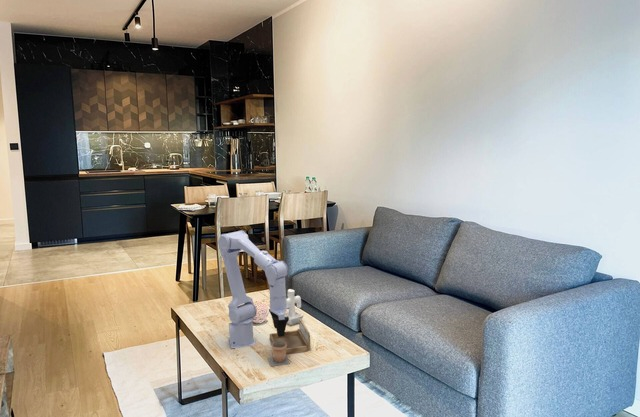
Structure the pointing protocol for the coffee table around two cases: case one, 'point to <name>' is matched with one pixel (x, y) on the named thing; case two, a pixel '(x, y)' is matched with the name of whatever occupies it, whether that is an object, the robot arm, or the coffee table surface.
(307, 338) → the lid
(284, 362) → the tile
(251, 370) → the coffee table surface
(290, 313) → the figurine
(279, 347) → the pot
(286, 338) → the cold frame
